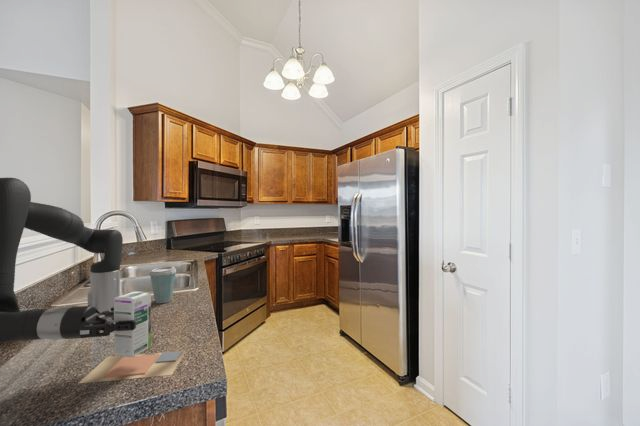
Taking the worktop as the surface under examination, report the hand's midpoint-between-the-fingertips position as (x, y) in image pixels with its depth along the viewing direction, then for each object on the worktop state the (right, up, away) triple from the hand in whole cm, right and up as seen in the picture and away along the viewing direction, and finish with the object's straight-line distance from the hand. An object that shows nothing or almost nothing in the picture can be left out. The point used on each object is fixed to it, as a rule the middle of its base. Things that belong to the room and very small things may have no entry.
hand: (142, 319), depth 72 cm
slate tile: (+5, -12, +4) cm, 13 cm away
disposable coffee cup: (-25, -13, +55) cm, 61 cm away
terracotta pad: (-2, -12, 0) cm, 12 cm away
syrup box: (-2, -8, 0) cm, 8 cm away
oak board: (-1, -13, 0) cm, 13 cm away
